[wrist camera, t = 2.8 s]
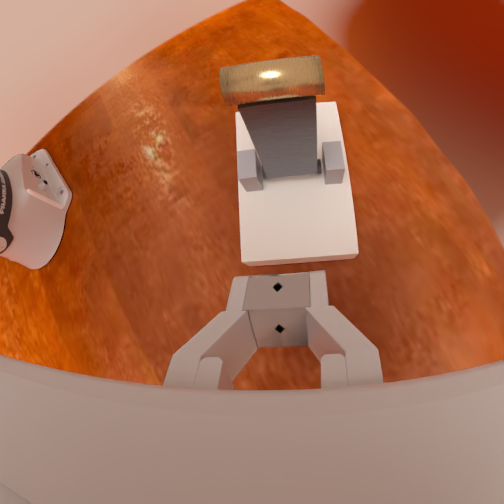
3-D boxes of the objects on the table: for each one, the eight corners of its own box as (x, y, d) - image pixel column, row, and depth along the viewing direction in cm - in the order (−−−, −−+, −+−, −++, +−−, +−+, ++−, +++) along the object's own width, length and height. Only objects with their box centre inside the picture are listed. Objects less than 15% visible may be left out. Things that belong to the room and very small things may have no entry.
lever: (322, 180, 32) (324, 77, 15) (264, 186, 33) (219, 90, 16) (319, 158, 32) (317, 47, 16) (263, 163, 33) (219, 60, 17)
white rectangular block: (353, 258, 35) (365, 246, 27) (250, 266, 37) (230, 257, 29) (334, 120, 38) (336, 79, 29) (243, 129, 40) (226, 92, 31)
